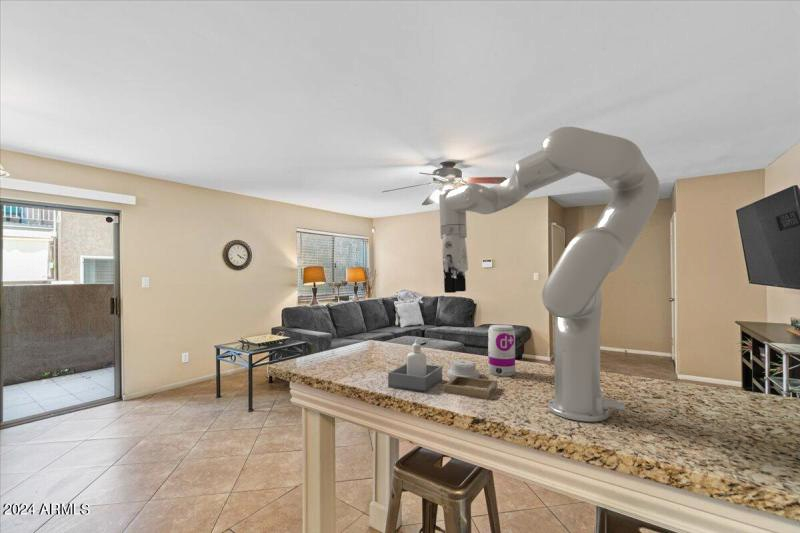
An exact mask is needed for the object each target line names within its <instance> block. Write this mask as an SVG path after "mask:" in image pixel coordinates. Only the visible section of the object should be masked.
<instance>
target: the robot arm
mask: <svg viewBox="0 0 800 533" xmlns="http://www.w3.org/2000/svg"><path fill="white" fill-rule="evenodd" d="M577 173H580V174H583V175H586V176H590V177H593V178H596V179H599V180H600V181H602V182H603V183H604V184H605V185H606V186H608V187H609V188H611V190H612V191H613V192H612V193H613V195H612V197H611V199H610V201H609V202H608V203H607V204H606V206H605V207H604V209H603V210H602V211H601V214H600V215H599V218H598V220H597V221H596V223H595V224H594V226H593V227H592V228H587V229H585V230H582V231H580V232H578V233H577V234H576V235H574V237H573V238H572V239H571V240H570V241H569V243H567V245H566V247H565V248H564V250H563V252H562V253H561V255H560V257H559V259H558V260H557V262H556V263H555V266H554V267H553V269H552V271H551V272H550V274H549V276H548V277H547V279H546V281H545V283H544V285H543V288H542V292H541V299H542V304H543V306H544V307H545V308H544V309H546V310H547V312H548V313H549V314H551V315H552V316H554V317H555V318H554V329H553V330H554V331H553V332H554V334H553V336H554V338H553V340H554V342H553V343H554V344H553V345H554V347H553V348H554V350H553V351H554V352H553V353H554V355H553V356H554V357H553V358H554V360H553V361H554V363H553V364H554V365H553V366H554V398H552V399H549V400H548V401H547V408H548V409H549V411H550V412H551V413H553V414H555V415H557V416H559V417H562V418H564V419H569V420H573V421H579V422H592V423H593V422H594V423H595V422H601V421H604V420H607V419H608V418H610V417H609V416H610V413H609V412H610V410H613V411H615V412H623V413H625V412H626V403H625V402H623V401H618V398H616V399H615V398H608V397H607V398H606V396H603V391H602V390H601V317H602V316H601V315H602V306H603V305H602V303H603V302H602V300H603V299H602V298H603V297H602V291H601V288H600V287H601V286H602V284H603V283H604V281H605V280H606V279H607V277H608V275H610V273H612V272H614V271H616V270H618V269H619V268H620V267H621V265H623V263H624V261H625V258H626V257H627V256H628V253H629V252H630V250H631V249H632V247H633V246H634V244H635V243H636V241H637V239H638V237H639V236H640V234H641V232H642V231H643V229H644V227H645V226H646V224H647V222H648V220H649V219H650V218H651V216H652V214H653V212H654V211H655V209H656V207H657V204H658V201H659V198H660V192H661V187H660V181H659V178H658V176H657V174H656V172H655V171H654V169H653V168H652V167H651V165H650V164H649V163H648V161H647V160H646V158H645V157H644V155H643V153H642V151H641V149H640V148H639V146H638V145H637V144H636V143H635V142H633V141H632V140H629V139H628V138H624V137H620V136H616V135H611V134H607V133H603V132H599V131H593V130H589V129H584V128H580V127H577V126H576V127H575V126H561V127H558V128H556V129H553V131H551V132H550V133H549V134H548V135H547V136H546V137H545V139H544V141H543V143H542V147H541V149H540V150H538V151H536V152H534V153H532V154H530V155H527V156H526V157H523V158H521V159H519V160H518V161H517V162H516V163H515V166H514V171H513V173H512V175H511V176H509V177H508V178H507V179H505V180H504V181H502V182H501V183H499V184H496V185H494V186H490V187H487V186H484V185H481V184H478V183H477V182H469V183H466V184H463V185H461V186H458V187H456V188H449V189H444V190H442V191H441V192H440V194H439V196H438V198H439V199H438V200H439V221H440V222H439V226H440V230H439V231H440V239H441V240H442V253H441V254H442V258H441V259H442V270H443V271H442V272H443V284H444V286H443V288H444V293H445V294H446V293H447V294H449V293H450V294H452V293H453V294H454V293H455V294H456V293H457V292H466V291H467V285H466V282H467V280H466V272H467V271H468V270H469V264H468V263H469V260H468V252H467V242H466V238H467V237H468V232H467V230H468V229H467V212H471V213H477V214H481V215H492V214H494V213H497V212H500V211H503V210H504V209H507V208H509V207H512V206H514V205H515V204H517V203H518V202H520V201H522V200H523V199H524V198H526V196H528V195H529V194H531V193H532V192H534V191H536V190H538V189H539V190H540V189H541V188H544V187H546V186H548V185H550V184H553V183H556V182H558V181H560V180H563V179H564V178H568V177H570V176H573V175H576V174H577Z"/></svg>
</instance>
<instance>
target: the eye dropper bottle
mask: <svg viewBox="0 0 800 533" xmlns="http://www.w3.org/2000/svg"><path fill="white" fill-rule="evenodd" d="M411 346H412V350H411V351H412V352H409V353H408V354H407V355H406V363H407V375H414V376H421V377H425V376H426V365H427V355H426V353H424V352H421V351H422V345H421V344H420V343H419V340H418V339H415V340H414V343H413V344H412V345H411Z"/></svg>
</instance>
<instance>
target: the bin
mask: <svg viewBox="0 0 800 533" xmlns="http://www.w3.org/2000/svg"><path fill="white" fill-rule="evenodd" d="M387 375H388V376H387V377H388V379H387V384H388V385H387V386H388V388H392V389H399V390H406V391H411V392H416V393H427V392H428V391H430V390H431V389H432V388H434V387H435V386H436V385H437V384H439V383H441V381H442V380H443V366H442V365H441V366H440V365H434V364H426V376H425V377H421V376H414V375H407V362H406V363H405V364H402V365H400V366H398V367H396V368H394V369H393V370H391V371H389V372H388V374H387Z"/></svg>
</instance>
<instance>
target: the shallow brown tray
mask: <svg viewBox="0 0 800 533" xmlns="http://www.w3.org/2000/svg"><path fill="white" fill-rule="evenodd" d="M461 385H462V386H461ZM470 386H471V387H470ZM476 387H477V388H476ZM483 388H484V389H483ZM497 389H498V380H493V379H484V378H480V377H479V378H471V377H463V376H455V377H453V378H450V380H448V381H447V382H446V383H445V384H444V385H443V393H445V394H452V395H458V396H465V397H472V398H478V399H485V400H490V399H491V397H493V395H494V394H495V393H496V391H497Z"/></svg>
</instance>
